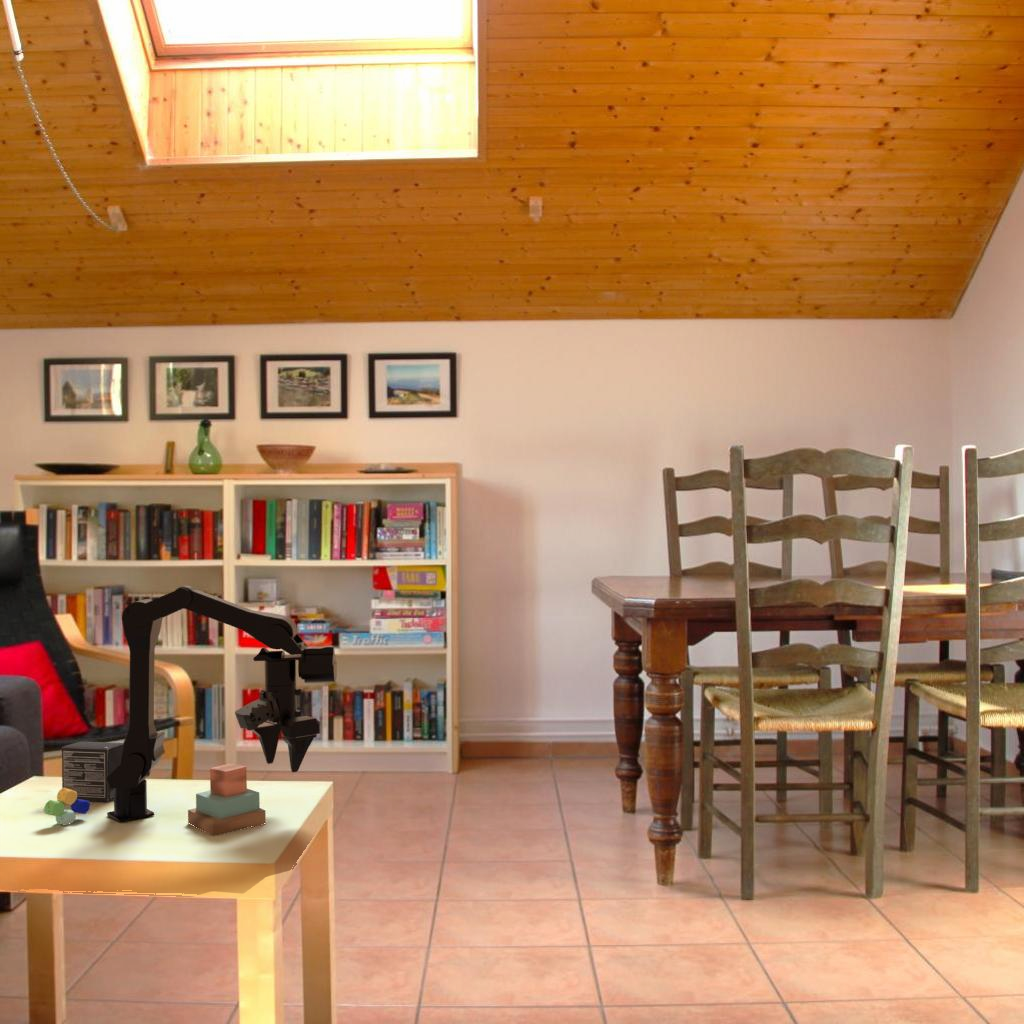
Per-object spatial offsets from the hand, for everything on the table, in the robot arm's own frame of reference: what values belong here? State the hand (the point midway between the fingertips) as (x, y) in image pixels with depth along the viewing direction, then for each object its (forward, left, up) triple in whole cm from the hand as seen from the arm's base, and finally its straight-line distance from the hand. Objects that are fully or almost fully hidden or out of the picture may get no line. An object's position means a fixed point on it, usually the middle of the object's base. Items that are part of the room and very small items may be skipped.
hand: (282, 767), depth 195 cm
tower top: (0, -11, -6) cm, 12 cm away
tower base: (0, -11, -9) cm, 14 cm away
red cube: (0, -11, -3) cm, 11 cm away
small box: (-35, -22, -8) cm, 42 cm away
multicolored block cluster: (-21, -32, -8) cm, 39 cm away
